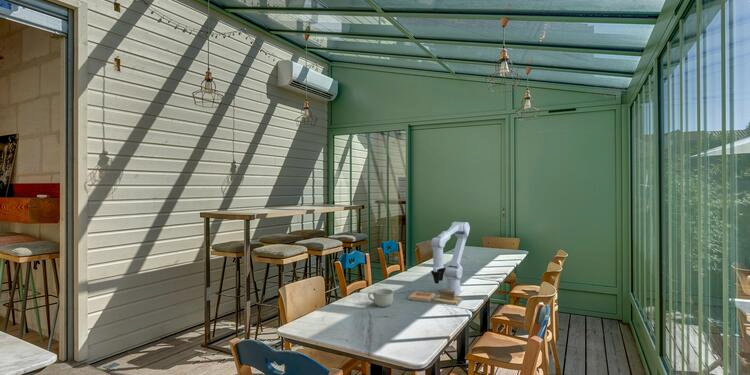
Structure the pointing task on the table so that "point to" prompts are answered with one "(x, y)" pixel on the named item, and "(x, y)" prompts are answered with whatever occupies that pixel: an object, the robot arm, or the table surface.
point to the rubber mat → (450, 304)
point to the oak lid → (447, 297)
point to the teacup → (382, 297)
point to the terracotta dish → (421, 296)
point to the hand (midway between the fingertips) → (438, 281)
